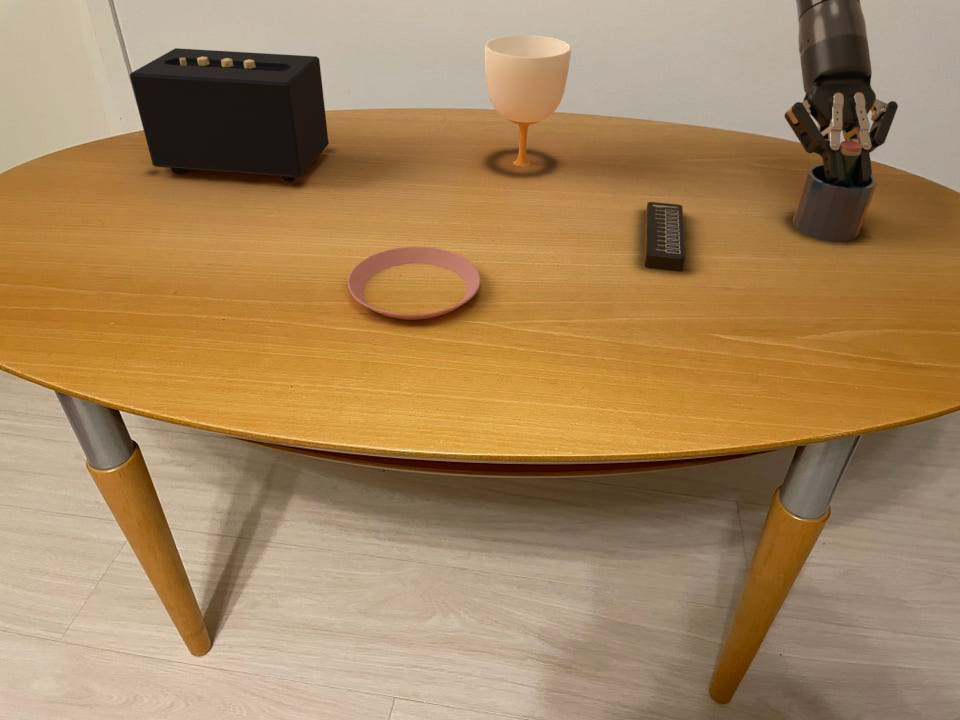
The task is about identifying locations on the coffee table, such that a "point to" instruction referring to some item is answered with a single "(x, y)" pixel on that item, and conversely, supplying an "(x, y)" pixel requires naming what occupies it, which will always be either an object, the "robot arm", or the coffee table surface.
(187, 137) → the speaker
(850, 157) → the pencil
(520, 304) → the coffee table surface
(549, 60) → the cup
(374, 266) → the ring
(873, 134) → the robot arm
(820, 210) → the pen cup
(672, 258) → the dark brown flat block
